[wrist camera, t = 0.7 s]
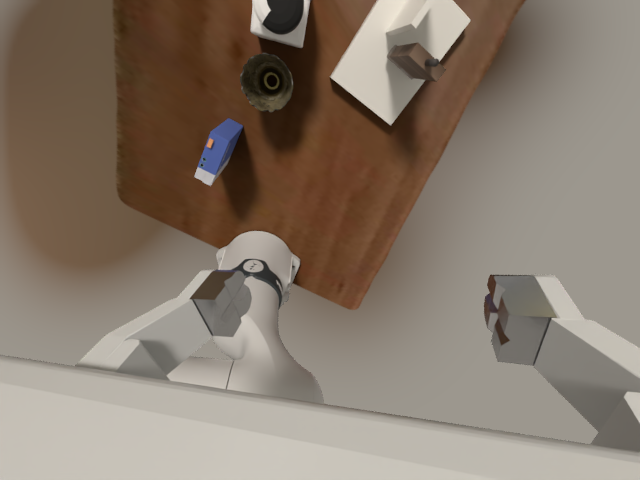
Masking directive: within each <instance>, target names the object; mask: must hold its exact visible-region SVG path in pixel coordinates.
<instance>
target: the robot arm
mask: <svg viewBox="0 0 640 480" xmlns="http://www.w3.org/2000/svg"><path fill="white" fill-rule="evenodd" d="M216 258H217V261H218V265H219V269H218V270H209V269H208V270H207V269H205V270H203V271H200V273H199V274H198V275H197V276H196V277H195V278H194V279H193V280H192V282H191V283H190V284H189V285H188V286H187V287H186V288H185V289H184V290H183V292H182V293H181V294H180V295H179V296H178V297H177V298H176V299H171V300H169V301H167V302H166V303H164V304H162V305H160V306H158V307H156V308H155V309H153V310H151V311H149V312H147V313H145V314H144V315H142V316H140V317H138V318H136V319H135V320H133V321H131V322H129V323H127V324H125V325H123V326H122V327H120V328H118V329H116V330H114V331H112V332H111V333H109V334H107V335H105V336H104V337H103V338H102V339H101V340H100V341H99V342H98V343H97V344H96V345H95V346H94V347H93V348H92V349H91V350H90V351H89V352H88V353H87V354H86V355H85V356H84V357H83V358H82V359H81V360H80V361H79V362H78V363H77V364H76V365H75V366H70V365H64V364H57V363H50V362H44V361H37V360H31V359H24V358H18V357H11V356H4V355H0V480H640V348H638V347H636V346H635V345H633V344H632V343H630V342H628V341H626V340H625V339H623V338H621V337H620V336H618V335H616V334H615V333H613V332H611V331H609V330H608V329H606V328H604V327H603V326H601V325H599V324H598V323H596V322H594V321H593V320H585V319H584V317H583V316H582V314H581V313H580V311H579V310H578V308H577V307H576V305H575V304H574V302H573V301H572V299H571V298H570V297H569V295H568V294H567V292H566V291H565V289H564V288H563V286H562V285H561V283H560V282H559V280H558V279H557V277H556V276H554V275H490V277H489V279H488V284H487V286H488V289H489V291H490V293H489V294H488V295H487V296H486V297H485V302H484V315H485V321H486V325H487V328H488V329H489V330H490V331H491V332H493V335H492V340H491V342H492V345H493V348H494V351H495V355H496V358H497V361H498V362H507V363H516V364H524V365H533V366H534V368H535V369H536V370H537V371H538V372H539V373H540V374H541V375H542V376H543V377H544V378H545V379H546V380H547V381H548V382H549V383H550V384H551V385H552V386H553V387H554V388H555V389H556V390H557V391H558V392H559V393H560V394H561V395H562V396H563V397H564V398H565V399H566V400H567V401H568V402H569V403H570V404H571V405H572V406H573V407H574V408H575V409H576V410H577V411H578V412H579V413H580V414H581V415H582V416H583V417H584V418H585V419H586V420H587V421H588V422H589V423H590V424H591V425H592V426H593V427H594V428H595V429H596V430H597V431H598V432H599V433H598V434H597V436H596V437H595V438H594V440H593V441H592V443H591V444H585V443H577V442H571V441H565V440H558V439H551V438H545V437H538V436H532V435H525V434H519V433H512V432H505V431H499V430H492V429H485V428H479V427H472V426H466V425H459V424H453V423H446V422H439V421H433V420H426V419H419V418H412V417H406V416H400V415H392V414H386V413H380V412H373V411H367V410H360V409H354V408H347V407H340V406H333V405H327V404H324V400H323V395H322V391H321V389H320V386H319V384H318V382H317V380H316V379H315V377H314V376H313V375H312V374H311V372H309V371H308V370H306V369H304V368H303V367H302V366H301V365H300V364H298V363H297V362H296V361H295V360H294V359H293V358H292V356H291V355H290V354H289V353H288V351H287V350H286V349H285V347H284V345H283V343H282V341H281V339H280V337H279V332H278V310H279V308H280V306H282V305H283V304H284V302H287V301H288V298H289V290H290V287H291V285H292V282H293V280H294V278H295V275H296V273H297V270H298V268H299V266H300V259H299V258H298V257H297V256H295V255H294V254H292V253H291V252H290V250H289V249H288V247H287V245H286V244H285V243H284V242H283V241H282V240H281V239H280V238H278V237H277V236H275V235H273V234H270V233H267V232H262V231H250V232H246V233H243V234H241V235H239V236H237V237H236V238H235V239H234V240H233V241H232V242H231V243H230V244H229V245H228V246H226V247H223V248H221V249H219V250H218V251H217V254H216ZM292 266H295V267H292ZM211 338H212V339H213V341H214V343H215V344H216V346H217V347H218V348H219V349H220V350H221V351H222V352H223V353H224V354H226V355H227V356H229V357H230V358H232V359H233V360H226V359H215V358H203V357H191V355H192V354H193V353H194V352H195V351H196V350H198V349H199V348H200V347H201V346H203V345H204V344H205V343H206V342H207V341H208V340H210V339H211Z"/></svg>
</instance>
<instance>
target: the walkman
mask: <svg viewBox="0 0 640 480" xmlns="http://www.w3.org/2000/svg"><path fill="white" fill-rule="evenodd" d="M242 128H243V126H242V125H240V124H239V123H237V122H235V121H233V120H231V119H230V118H228V119H227V120H226V121H224V122H223V123H222V124H220V125H219V126H218V127H216V128H215V129H214V130H212V131H211V133H210V135H209V138H208V141H207V143H206V146H205V149H204V151H203V154H202V157H201V159H200V162H199V165H198V168H197V171H196V173H195V176H194V177H195V178H198V179H200V180H202V181H203V183H205V184H208V185H212V184H213V182H214V181H215V180H216V178H217V177H218V176H219V174H220V173H221V172H222V170H223V169H224V168H225V166H226V165H227V164H228V161H229V159H230V157H231V154H232V152H233V150H234V147H235V145H236V142H237V140H238V138H239V135H240V133H241V131H242Z"/></svg>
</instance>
